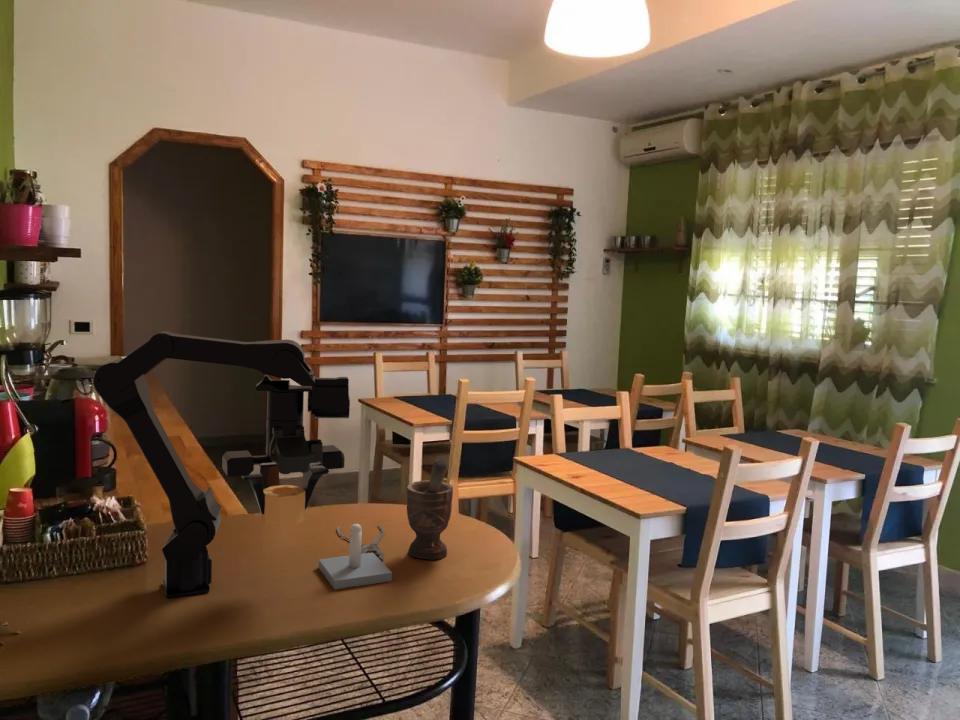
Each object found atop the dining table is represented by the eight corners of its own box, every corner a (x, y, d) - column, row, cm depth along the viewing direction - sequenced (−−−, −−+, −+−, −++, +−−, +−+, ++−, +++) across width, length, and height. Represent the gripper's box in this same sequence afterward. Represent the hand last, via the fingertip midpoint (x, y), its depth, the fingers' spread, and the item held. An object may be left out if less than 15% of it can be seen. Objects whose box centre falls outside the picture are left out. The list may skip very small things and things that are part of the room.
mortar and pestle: (469, 562, 139) (474, 456, 137) (430, 571, 133) (435, 461, 131) (433, 543, 148) (437, 443, 146) (395, 551, 142) (399, 448, 140)
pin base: (334, 589, 124) (336, 536, 123) (318, 567, 133) (319, 518, 132) (391, 580, 129) (393, 530, 128) (372, 560, 137) (374, 512, 136)
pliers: (376, 521, 158) (416, 554, 140) (376, 525, 158) (416, 558, 140) (331, 527, 153) (367, 561, 136) (331, 531, 153) (367, 565, 136)
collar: (267, 528, 119) (267, 498, 119) (259, 516, 125) (259, 487, 125) (307, 524, 122) (308, 494, 122) (298, 512, 128) (298, 483, 127)
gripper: (233, 430, 110) (232, 533, 112) (356, 424, 119) (353, 520, 121) (222, 416, 120) (221, 511, 122) (335, 412, 129) (333, 500, 131)
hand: (283, 511), depth 124 cm, fingers closed on collar, 6 cm apart
